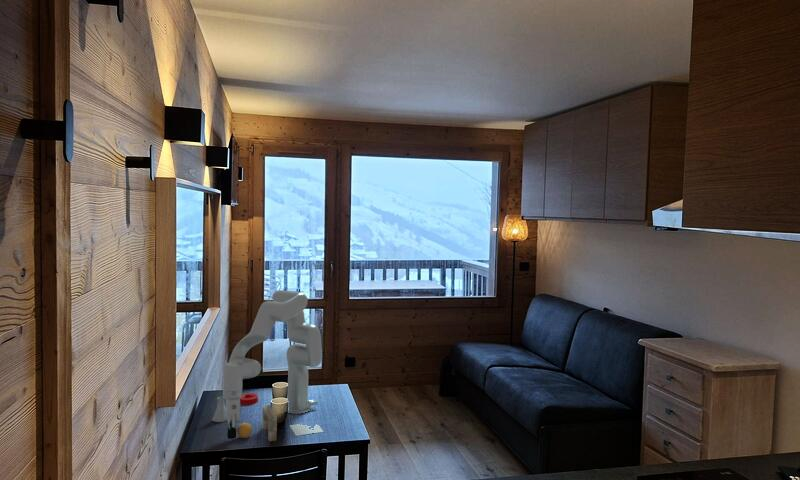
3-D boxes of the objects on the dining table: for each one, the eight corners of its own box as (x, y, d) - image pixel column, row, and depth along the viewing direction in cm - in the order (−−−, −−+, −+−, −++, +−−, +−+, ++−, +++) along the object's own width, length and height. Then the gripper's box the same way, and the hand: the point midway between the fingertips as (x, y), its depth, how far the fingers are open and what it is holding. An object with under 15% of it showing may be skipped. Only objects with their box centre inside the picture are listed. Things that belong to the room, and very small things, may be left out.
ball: (233, 429, 216) (243, 437, 218) (234, 434, 211) (245, 443, 212) (243, 417, 218) (253, 426, 220) (245, 422, 212) (256, 431, 214)
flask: (223, 423, 230) (224, 401, 229) (208, 421, 231) (209, 399, 231) (232, 417, 237) (232, 395, 236) (217, 416, 238) (218, 394, 238)
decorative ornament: (259, 404, 256) (259, 397, 256) (239, 406, 252) (239, 400, 252) (255, 398, 265) (255, 391, 265) (236, 400, 260) (236, 394, 260)
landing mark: (315, 422, 234) (315, 421, 234) (323, 432, 223) (323, 431, 223) (289, 425, 229) (289, 425, 229) (296, 436, 218) (296, 435, 218)
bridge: (269, 427, 227) (269, 405, 226) (276, 440, 213) (276, 417, 213) (262, 428, 225) (262, 406, 225) (269, 441, 212) (269, 418, 212)
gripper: (244, 398, 206) (243, 443, 207) (239, 386, 220) (238, 429, 220) (224, 400, 203) (224, 446, 204) (220, 388, 217) (220, 432, 217)
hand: (231, 437), depth 212 cm, fingers closed
